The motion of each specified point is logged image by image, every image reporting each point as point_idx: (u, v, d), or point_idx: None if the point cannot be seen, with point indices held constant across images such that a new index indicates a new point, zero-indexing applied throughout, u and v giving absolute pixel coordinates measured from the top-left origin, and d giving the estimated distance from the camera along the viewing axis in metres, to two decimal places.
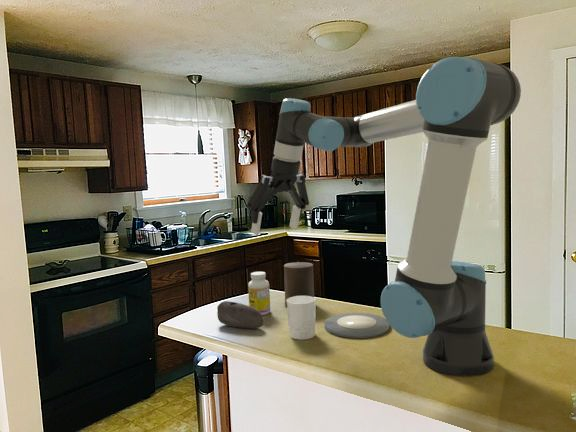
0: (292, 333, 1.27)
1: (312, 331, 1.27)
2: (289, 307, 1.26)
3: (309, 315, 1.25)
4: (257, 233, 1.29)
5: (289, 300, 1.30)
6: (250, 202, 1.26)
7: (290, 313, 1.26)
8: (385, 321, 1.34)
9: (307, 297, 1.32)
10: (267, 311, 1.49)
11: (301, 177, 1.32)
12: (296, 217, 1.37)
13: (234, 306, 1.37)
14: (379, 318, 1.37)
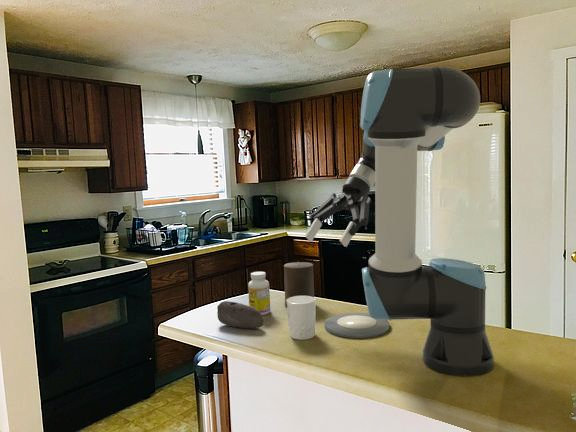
0: (292, 333, 1.27)
1: (312, 331, 1.27)
2: (289, 307, 1.26)
3: (309, 315, 1.25)
4: (306, 234, 1.37)
5: (289, 300, 1.30)
6: None
7: (290, 313, 1.26)
8: (385, 321, 1.34)
9: (307, 297, 1.32)
10: (267, 311, 1.49)
11: None
12: None
13: (234, 306, 1.37)
14: None
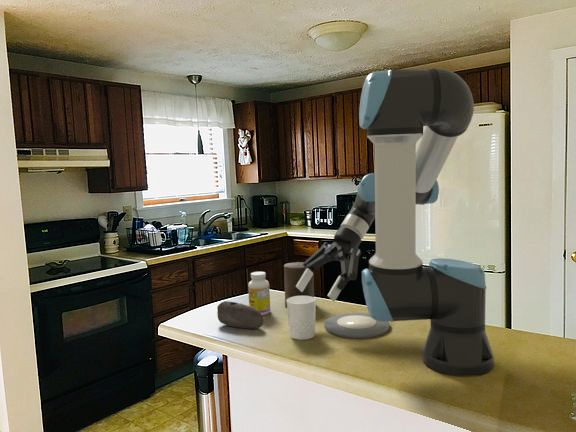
0: (292, 333, 1.27)
1: (312, 331, 1.27)
2: (289, 307, 1.26)
3: (309, 315, 1.25)
4: (297, 285, 1.38)
5: (289, 300, 1.30)
6: None
7: (290, 313, 1.26)
8: (385, 321, 1.34)
9: (307, 297, 1.32)
10: (267, 311, 1.49)
11: None
12: None
13: (234, 306, 1.37)
14: None
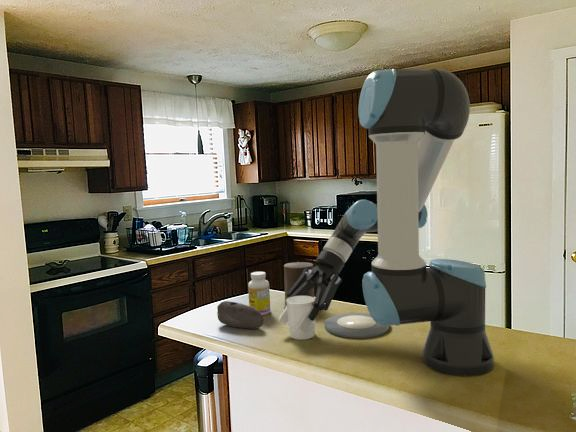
0: (292, 333, 1.27)
1: (312, 331, 1.27)
2: (288, 306, 1.26)
3: None
4: (279, 317, 1.30)
5: (289, 300, 1.30)
6: None
7: (290, 313, 1.26)
8: None
9: (306, 297, 1.32)
10: (267, 311, 1.49)
11: None
12: None
13: (234, 306, 1.37)
14: None
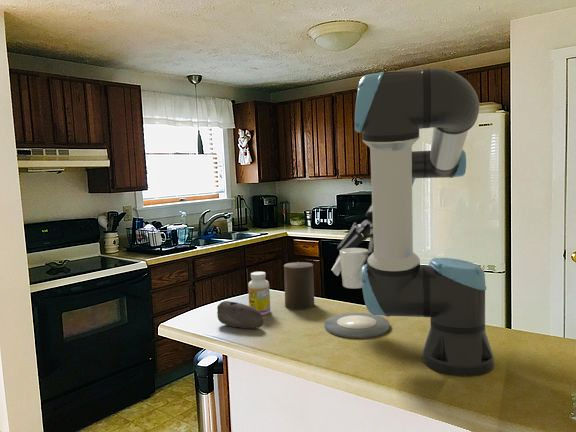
0: (345, 282, 1.31)
1: None
2: (343, 256, 1.30)
3: None
4: (332, 268, 1.33)
5: (341, 251, 1.34)
6: None
7: (344, 263, 1.30)
8: (385, 321, 1.34)
9: (358, 249, 1.35)
10: (267, 311, 1.49)
11: None
12: None
13: (234, 306, 1.37)
14: (379, 318, 1.37)
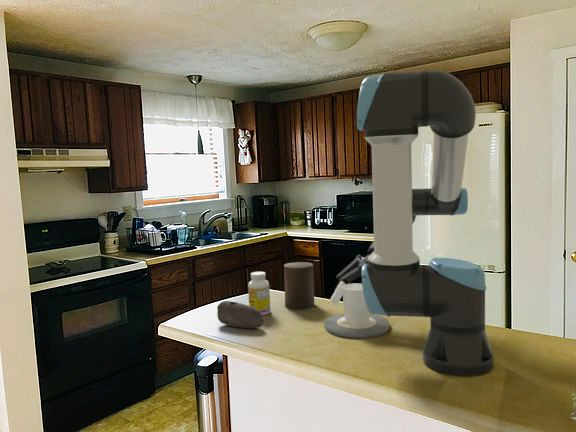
0: (348, 318, 1.32)
1: (367, 317, 1.32)
2: (345, 293, 1.32)
3: None
4: (331, 298, 1.37)
5: (344, 287, 1.35)
6: None
7: (347, 300, 1.31)
8: (385, 321, 1.34)
9: (360, 284, 1.37)
10: (267, 311, 1.49)
11: None
12: None
13: (234, 306, 1.37)
14: (379, 318, 1.37)
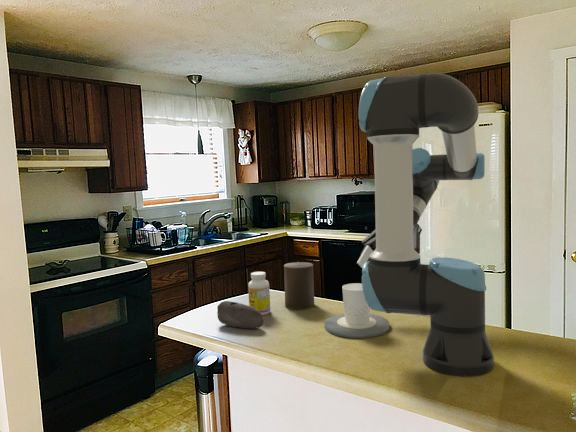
0: (348, 318, 1.32)
1: (367, 317, 1.32)
2: (345, 293, 1.32)
3: (365, 301, 1.31)
4: (358, 261, 1.44)
5: (344, 287, 1.35)
6: None
7: (347, 300, 1.31)
8: (385, 321, 1.34)
9: (360, 284, 1.37)
10: (267, 311, 1.49)
11: None
12: None
13: (234, 306, 1.37)
14: (379, 318, 1.37)
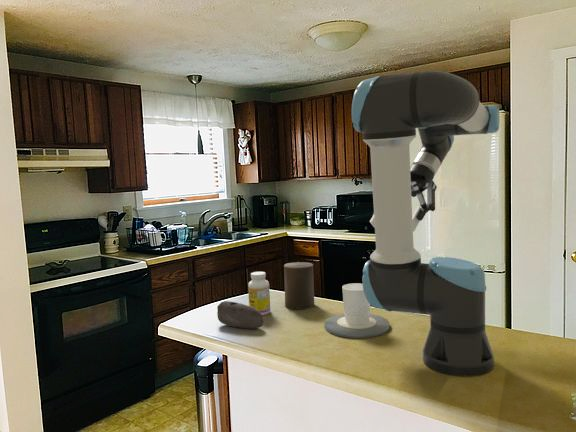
0: (348, 318, 1.32)
1: (367, 317, 1.32)
2: (345, 293, 1.32)
3: (365, 301, 1.31)
4: (371, 220, 1.40)
5: (344, 287, 1.35)
6: None
7: (347, 300, 1.31)
8: (385, 321, 1.34)
9: (360, 284, 1.37)
10: (267, 311, 1.49)
11: None
12: None
13: (234, 306, 1.37)
14: (379, 318, 1.37)
